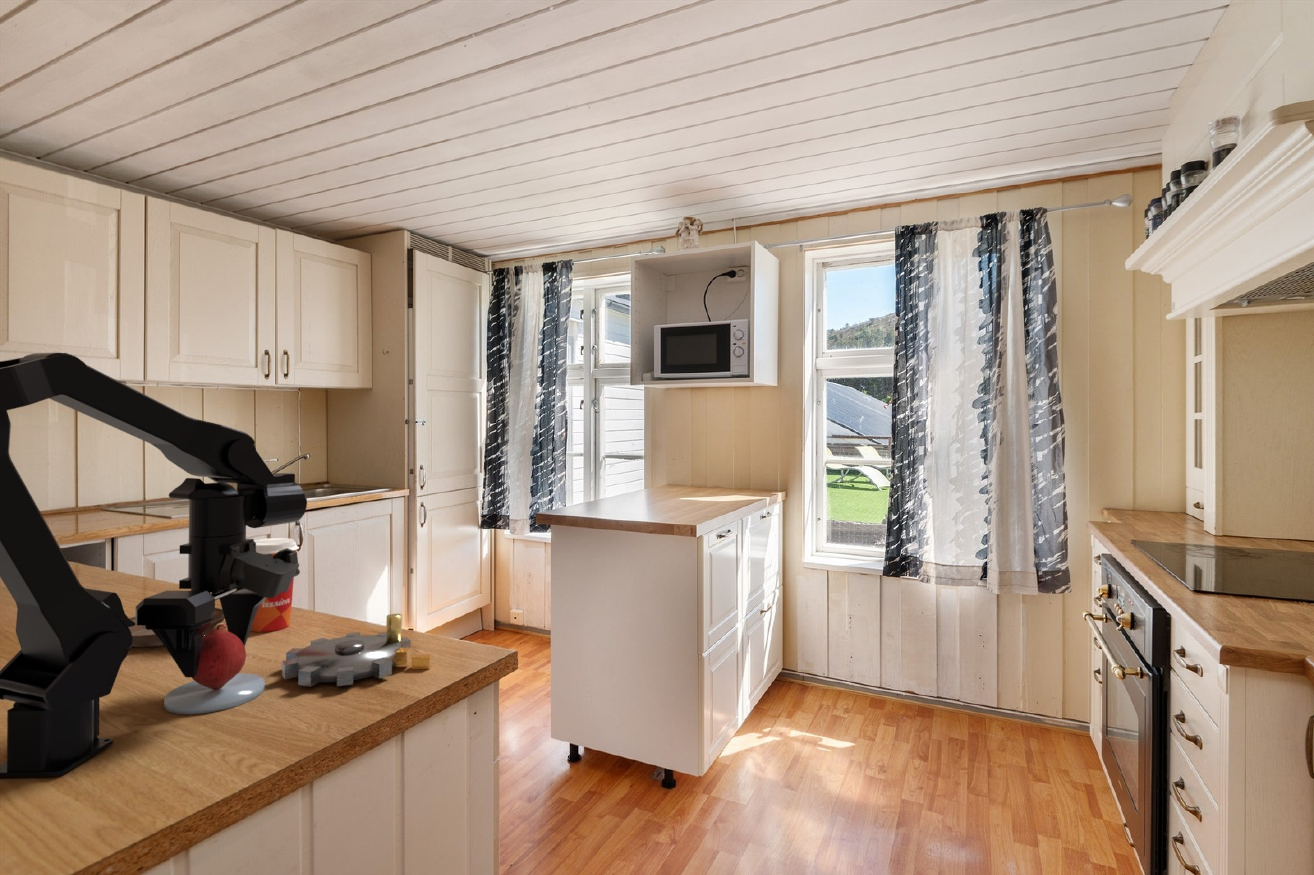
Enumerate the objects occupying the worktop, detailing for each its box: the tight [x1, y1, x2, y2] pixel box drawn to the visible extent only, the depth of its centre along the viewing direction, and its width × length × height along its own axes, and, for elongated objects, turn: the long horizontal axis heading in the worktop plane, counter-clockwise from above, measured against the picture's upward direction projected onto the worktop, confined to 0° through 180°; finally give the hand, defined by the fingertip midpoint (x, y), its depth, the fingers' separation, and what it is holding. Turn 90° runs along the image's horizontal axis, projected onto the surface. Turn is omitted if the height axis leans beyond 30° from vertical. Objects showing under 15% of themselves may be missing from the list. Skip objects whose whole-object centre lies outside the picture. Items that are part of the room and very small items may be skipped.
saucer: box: [128, 607, 225, 648], centre depth 99 cm, size 15×15×3 cm
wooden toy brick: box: [411, 653, 433, 670], centre depth 87 cm, size 8×15×2 cm, turn 93°
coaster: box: [163, 673, 266, 715], centre depth 77 cm, size 10×10×1 cm
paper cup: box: [250, 537, 300, 633], centre depth 104 cm, size 8×8×14 cm
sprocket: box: [281, 613, 412, 687], centre depth 87 cm, size 16×16×5 cm
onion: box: [191, 622, 247, 690], centre depth 77 cm, size 6×6×8 cm
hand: (216, 662), depth 77 cm, fingers open, 9 cm apart
